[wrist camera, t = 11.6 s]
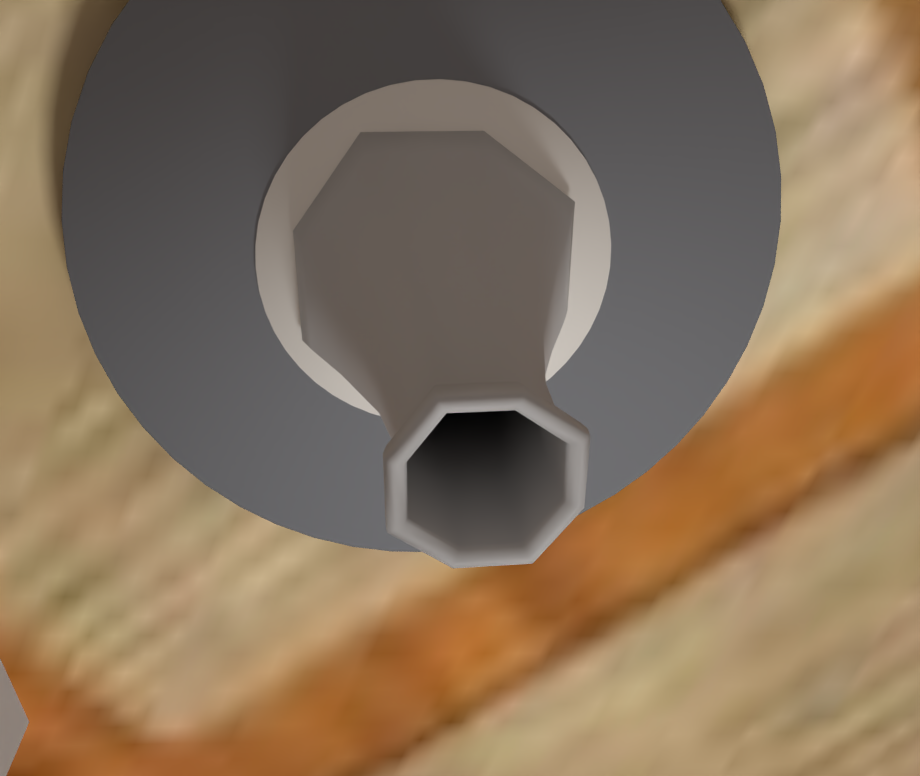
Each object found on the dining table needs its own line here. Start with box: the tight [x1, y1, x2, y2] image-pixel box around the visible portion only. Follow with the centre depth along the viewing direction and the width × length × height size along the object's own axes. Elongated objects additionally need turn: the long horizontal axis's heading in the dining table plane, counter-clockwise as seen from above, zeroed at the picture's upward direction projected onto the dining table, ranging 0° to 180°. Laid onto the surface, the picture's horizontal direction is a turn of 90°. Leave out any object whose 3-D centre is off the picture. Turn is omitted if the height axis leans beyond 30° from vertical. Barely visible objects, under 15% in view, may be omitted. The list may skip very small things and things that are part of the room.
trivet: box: [62, 0, 781, 552], centre depth 22 cm, size 18×18×1 cm
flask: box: [293, 131, 591, 568], centre depth 17 cm, size 7×7×10 cm
